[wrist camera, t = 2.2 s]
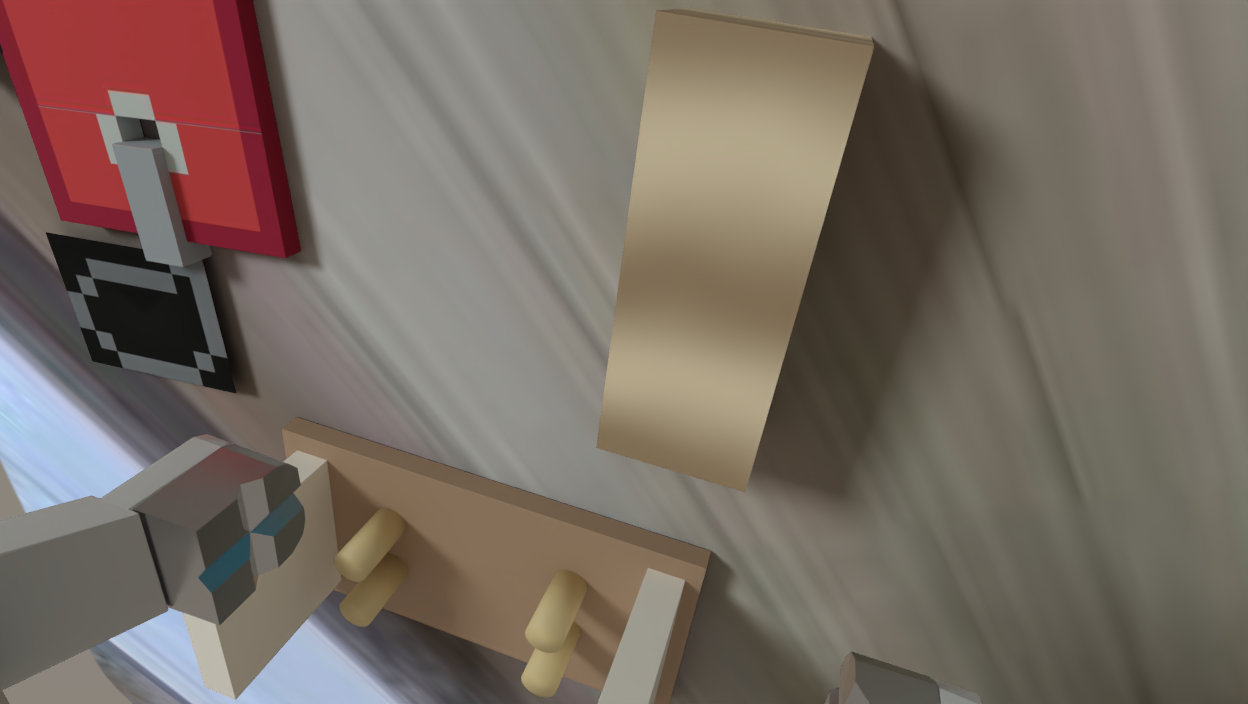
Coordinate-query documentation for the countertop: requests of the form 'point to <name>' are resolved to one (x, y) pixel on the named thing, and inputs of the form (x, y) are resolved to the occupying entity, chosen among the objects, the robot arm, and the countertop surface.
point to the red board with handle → (152, 164)
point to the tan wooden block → (722, 232)
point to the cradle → (466, 573)
